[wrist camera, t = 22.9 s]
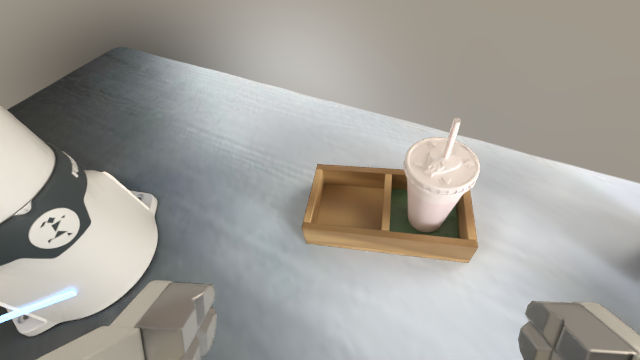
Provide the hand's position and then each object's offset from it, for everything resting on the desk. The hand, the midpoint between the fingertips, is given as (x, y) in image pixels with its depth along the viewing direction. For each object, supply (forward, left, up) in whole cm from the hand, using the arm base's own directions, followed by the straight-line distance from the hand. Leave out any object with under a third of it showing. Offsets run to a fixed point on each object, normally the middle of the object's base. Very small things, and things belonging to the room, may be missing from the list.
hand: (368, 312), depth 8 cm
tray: (-4, +17, -23) cm, 29 cm away
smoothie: (+1, +18, -22) cm, 29 cm away
